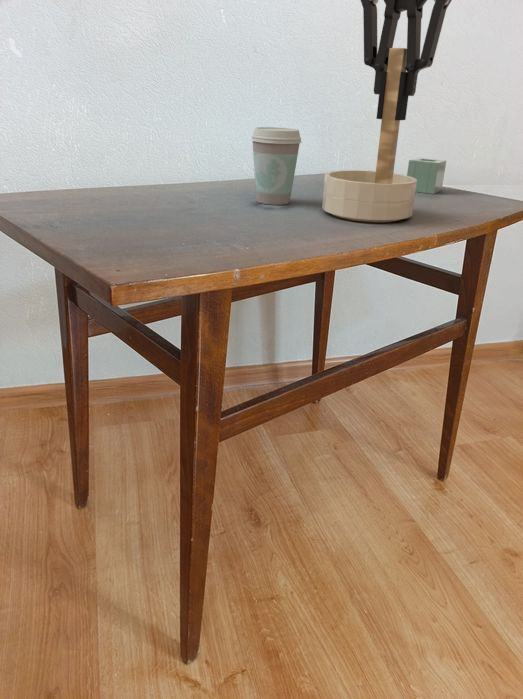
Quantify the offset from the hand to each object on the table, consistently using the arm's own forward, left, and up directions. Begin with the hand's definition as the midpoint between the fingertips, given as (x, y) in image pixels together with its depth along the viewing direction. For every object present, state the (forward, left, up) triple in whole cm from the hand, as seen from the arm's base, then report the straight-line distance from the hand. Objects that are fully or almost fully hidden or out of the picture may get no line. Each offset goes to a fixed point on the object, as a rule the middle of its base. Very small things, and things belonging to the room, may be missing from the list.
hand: (390, 119), depth 89 cm
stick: (0, 0, -12) cm, 12 cm away
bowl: (+2, 0, -15) cm, 15 cm away
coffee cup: (+19, +1, -15) cm, 24 cm away
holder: (+2, -32, -15) cm, 36 cm away
